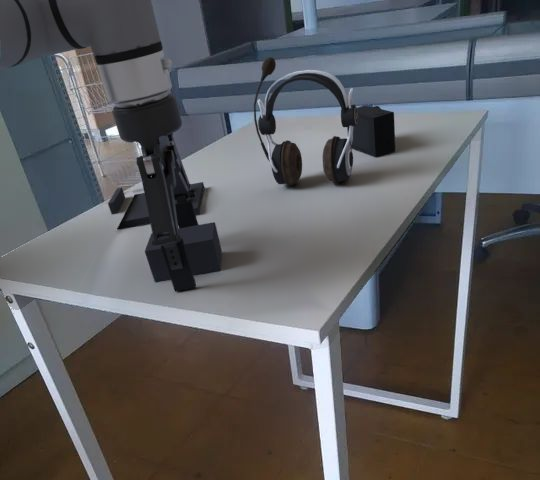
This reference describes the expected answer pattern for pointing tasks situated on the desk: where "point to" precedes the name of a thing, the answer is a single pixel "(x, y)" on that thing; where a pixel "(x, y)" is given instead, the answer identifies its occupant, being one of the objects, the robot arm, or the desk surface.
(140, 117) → the robot arm
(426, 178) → the desk surface
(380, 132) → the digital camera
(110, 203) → the base pad
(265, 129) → the headset
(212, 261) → the foam pad
